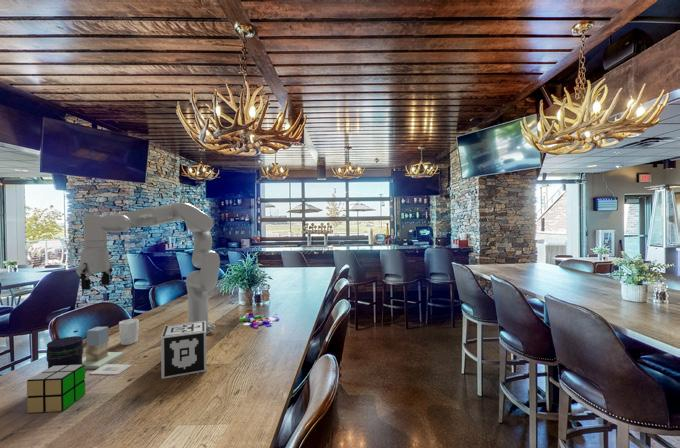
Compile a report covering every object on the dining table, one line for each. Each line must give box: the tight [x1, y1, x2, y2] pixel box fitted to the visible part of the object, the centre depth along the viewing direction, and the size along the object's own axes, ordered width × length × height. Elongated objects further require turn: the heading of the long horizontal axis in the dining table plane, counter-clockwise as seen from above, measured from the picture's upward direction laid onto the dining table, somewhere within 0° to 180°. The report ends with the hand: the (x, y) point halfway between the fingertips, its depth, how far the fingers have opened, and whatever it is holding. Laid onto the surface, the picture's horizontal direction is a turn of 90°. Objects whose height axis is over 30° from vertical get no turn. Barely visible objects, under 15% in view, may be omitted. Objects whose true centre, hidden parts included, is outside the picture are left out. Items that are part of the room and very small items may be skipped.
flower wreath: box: [239, 312, 280, 330], centre depth 184 cm, size 25×20×4 cm
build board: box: [82, 351, 125, 370], centre depth 131 cm, size 13×13×1 cm
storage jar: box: [46, 330, 84, 369], centre depth 113 cm, size 10×10×18 cm
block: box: [160, 321, 208, 380], centre depth 126 cm, size 15×15×15 cm
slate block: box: [86, 326, 110, 346], centre depth 131 cm, size 5×5×6 cm
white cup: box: [118, 318, 140, 346], centre depth 152 cm, size 8×8×10 cm
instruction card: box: [89, 363, 133, 376], centre depth 123 cm, size 11×8×1 cm
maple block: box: [85, 341, 109, 361], centre depth 131 cm, size 5×5×6 cm
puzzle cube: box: [26, 365, 86, 414], centre depth 100 cm, size 10×10×10 cm
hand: (96, 287), depth 131 cm, fingers open, 9 cm apart
